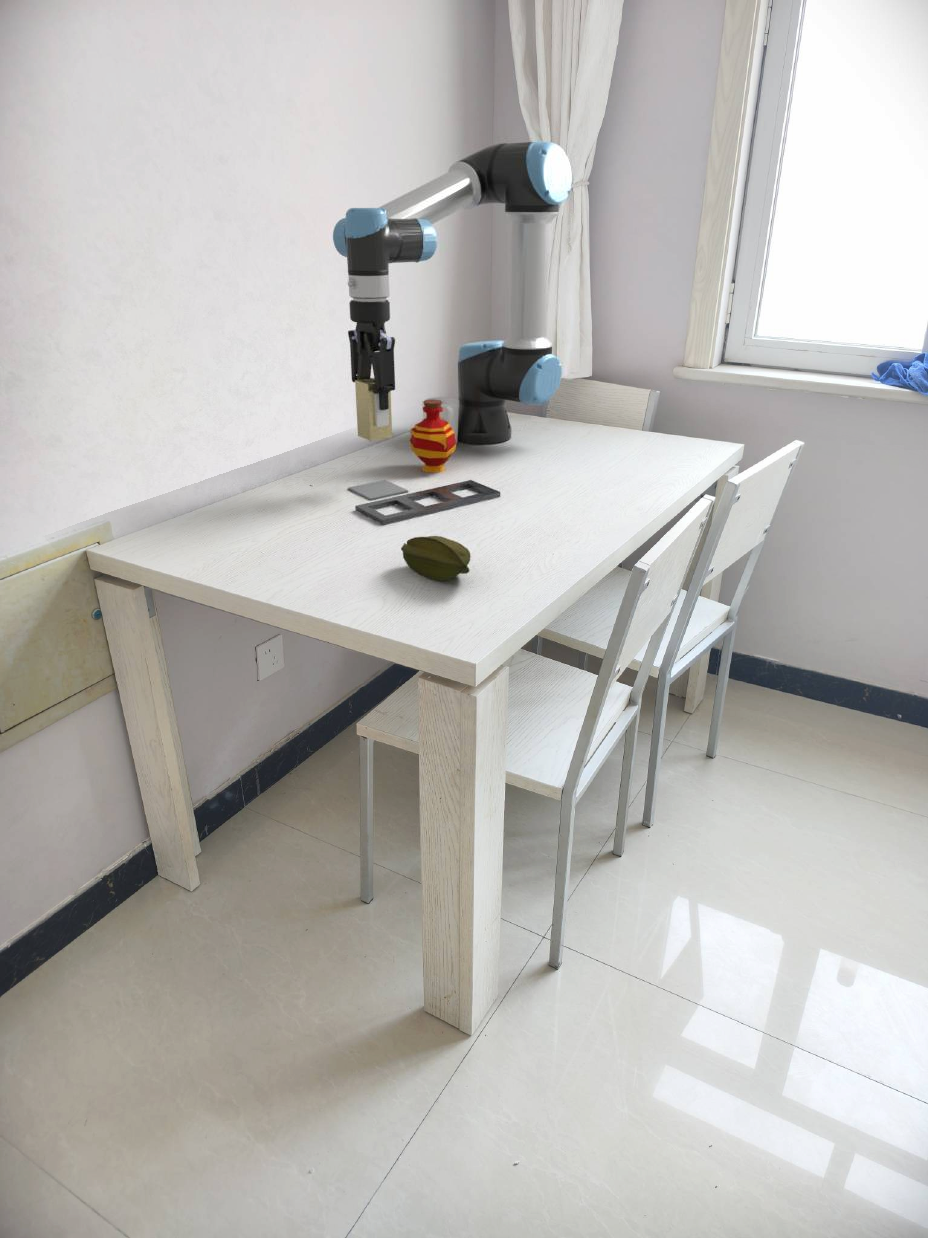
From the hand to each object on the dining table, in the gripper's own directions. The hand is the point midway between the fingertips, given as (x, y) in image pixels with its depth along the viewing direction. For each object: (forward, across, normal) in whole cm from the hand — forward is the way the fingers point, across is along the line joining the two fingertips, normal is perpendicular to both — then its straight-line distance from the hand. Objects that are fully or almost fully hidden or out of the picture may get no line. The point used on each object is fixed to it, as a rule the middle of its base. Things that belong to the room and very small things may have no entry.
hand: (374, 422), depth 170 cm
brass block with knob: (+3, 0, 0) cm, 3 cm away
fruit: (+15, +43, -15) cm, 48 cm away
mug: (+14, -22, +32) cm, 42 cm away
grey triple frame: (+14, +13, +4) cm, 20 cm away
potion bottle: (+14, -6, +18) cm, 24 cm away
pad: (+14, 0, 0) cm, 14 cm away
